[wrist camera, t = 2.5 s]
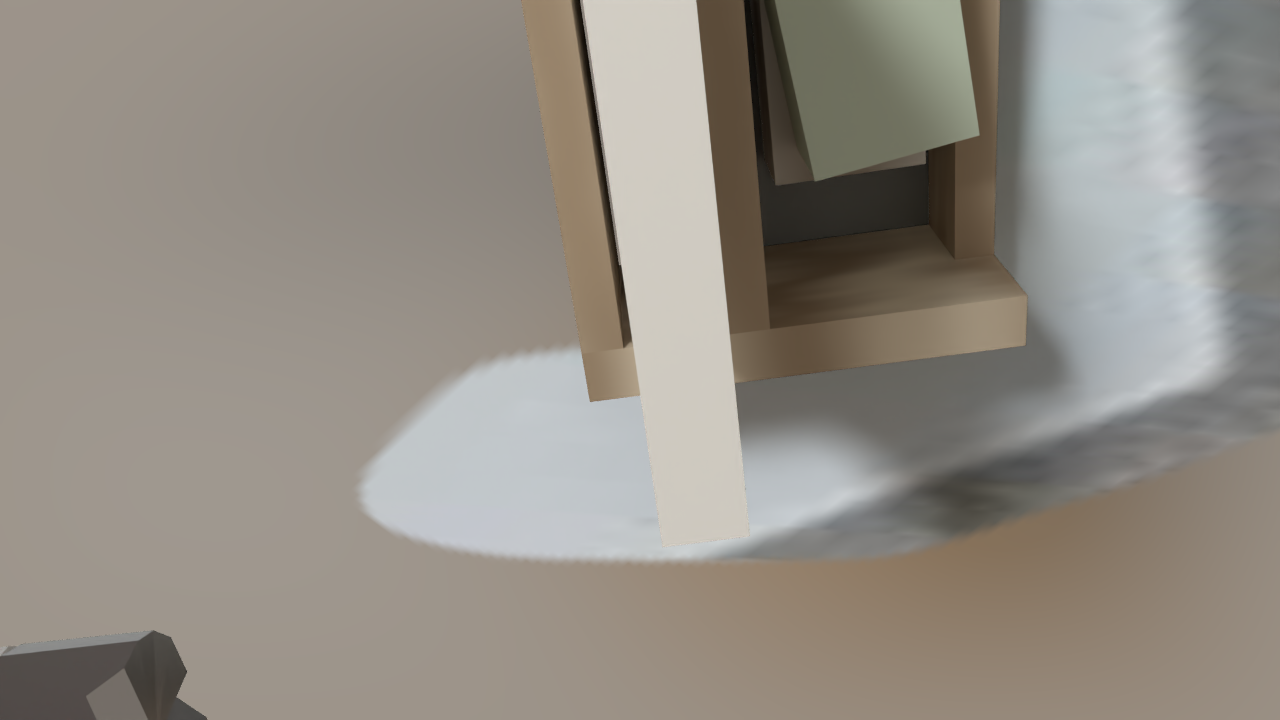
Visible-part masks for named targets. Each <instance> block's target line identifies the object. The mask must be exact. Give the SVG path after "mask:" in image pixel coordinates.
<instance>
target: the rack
mask: <svg viewBox="0 0 1280 720" xmlns="http://www.w3.org/2000/svg"><path fill="white" fill-rule="evenodd" d="M521 2H522V8H523V14H524V19H525V25H526V31H527V37H528V42H529V49H530V55H531V60H532V66H533V71H534V78H535V84H536V89H537V95H538V101H539V107H540V113H541V119H542V125H543V130H544V136H545V142H546V148H547V154H548V160H549V166H550V171H551V176H552V183H553V188H554V194H555V200H556V205H557V212H558V218H559V223H560V230H561V236H562V241H563V247H564V253H565V259H566V265H567V271H568V276H569V282H570V288H571V294H572V300H573V305H574V311H575V317H576V323H577V329H578V335H579V341H580V346H581V352H582V358H583V364H584V370H585V376H586V382H587V387H588V393H589V399H590V402H593V401H601V400H609V399H616V398H624V397H632V396H640V389H639V382H638V376H637V369H636V362H635V355H634V348H633V341H632V335H631V328H630V321H629V314H628V307H627V300H626V294H625V287H624V280H623V273H622V266H621V265H619V262H618V255H617V249H616V242H615V235H614V229H613V222H612V215H611V208H610V202H609V195H608V188H607V181H606V175H605V168H604V161H603V155H602V147H601V141H600V133H599V127H598V120H597V113H596V106H595V100H594V93H593V86H592V79H591V72H590V66H589V59H588V52H587V45H586V39H585V32H584V25H583V18H582V12H581V5H580V0H521ZM696 3H697V13H698V23H699V33H700V43H701V53H702V63H703V73H704V83H705V93H706V103H707V113H708V123H709V133H710V143H711V153H712V163H713V173H714V183H715V193H716V203H717V213H718V223H719V233H720V243H721V253H722V263H723V273H724V283H725V293H726V303H727V313H728V323H729V333H730V343H731V353H732V363H733V373H734V383H740V382H748V381H756V380H763V379H771V378H779V377H786V376H794V375H802V374H810V373H817V372H825V371H833V370H841V369H848V368H856V367H864V366H871V365H879V364H887V363H895V362H902V361H910V360H918V359H926V358H933V357H941V356H949V355H956V354H964V353H972V352H980V351H987V350H995V349H1003V348H1011V347H1018V346H1026V324H1027V299H1028V295H1027V294H1026V293H1025V292H1024V291H1023V289H1022V288H1021V287H1020V286H1019V284H1018V283H1017V282H1016V281H1015V280H1014V278H1013V277H1012V276H1011V275H1010V274H1009V272H1008V271H1007V270H1006V269H1005V267H1004V266H1003V265H1002V264H1001V263H1000V261H999V260H998V259H997V258H996V257H995V255H994V232H995V189H996V146H997V103H998V60H999V17H1000V0H960V4H961V11H962V18H963V24H964V31H965V38H966V45H967V52H968V59H969V65H970V72H971V79H972V86H973V93H974V100H975V107H976V113H977V120H978V127H979V134H980V135H979V136H975V137H972V138H968V139H965V140H961V141H957V142H954V143H950V144H947V145H943V146H940V147H936V148H933V149H929V150H928V179H929V225H921V226H914V227H906V228H899V229H891V230H884V231H876V232H868V233H861V234H853V235H846V236H838V237H831V238H823V239H816V240H808V241H801V242H793V243H785V244H778V245H770V246H763V234H762V221H761V209H760V197H759V184H758V172H757V160H756V147H755V135H754V123H753V110H752V98H751V86H750V73H749V61H748V49H747V36H746V24H745V11H744V0H696Z"/></svg>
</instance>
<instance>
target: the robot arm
mask: <svg viewBox="0 0 1280 720" xmlns="http://www.w3.org/2000/svg"><path fill="white" fill-rule="evenodd" d="M186 673H187V670H186V668H185V666H184V664H183V662H182V660H181V658H180V656H179V653H178V651H177V649H176V647H175V645H174V643H173V641H172V639H171V637H169V636H166V635H164V634H161V633H158V632H156V631H143V632H134V633H125V634H115V635H105V636H95V637H85V638H76V639H66V640H58V641H47V642H38V643H28V644H21V645H19V646H8V647H7V646H6V647H0V720H207V718H206V717H205V716H204V715H202V714H201V713H199V712H198V711H196V710H195V709H193V708H191V707H190V706H189V705H187V704H186V703H184V702H183V701H181V700H180V699H178V698H177V697H176V696H177V694H178V692H179V689H180V687H181V685H182V682H183V680H184V678H185V676H186Z"/></svg>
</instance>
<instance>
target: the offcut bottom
mask: <svg viewBox="0 0 1280 720" xmlns="http://www.w3.org/2000/svg"><path fill="white" fill-rule="evenodd" d="M750 8H751V19H752V30H753V41H754V51H755V62H756V73H757V84H758V95H759V106H760V117H761V128H762V138H763V149H764V160H765V162H766V164H767V167H768V169H769V171H770V174H771V176H772V178H773V181H774V183H775V185H776V186H778V185H785V184H792V183H798V182H805V181H812V180H814V179H813V177H812V175H811V173H810V171H809V169H808V167H807V166H806V164H805V162H804V160H803V158H802V156H801V154H800V152H799V151H798V149H797V145H796V140H795V136H794V132H793V127H792V123H791V118H790V114H789V110H788V105H787V101H786V96H785V92H784V88H783V83H782V79H781V74H780V70H779V66H778V61H777V57H776V52H775V48H774V44H773V39H772V35H771V30H770V26H769V22H768V17H767V13H766V8H765V4H764V0H750ZM921 164H926V151H922V152H919V153H915V154H911V155H908V156H904V157H901V158H897V159H894V160H890V161H887V162H883V163H880V164H876V165H873V166H869V167H866V168H862V169H858V170H855V171H851V172H848V173H844V174H841V175H837V176H834V177H839V176H846V175H853V174H860V173H867V172H874V171H880V170H887V169H894V168H901V167H908V166H915V165H921ZM830 178H833V177H830Z"/></svg>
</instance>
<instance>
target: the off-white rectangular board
mask: <svg viewBox="0 0 1280 720" xmlns="http://www.w3.org/2000/svg"><path fill="white" fill-rule="evenodd" d="M583 7H584V14H585V20H586V27H587V33H588V40H589V48H590V54H591V61H592V68H593V75H594V81H595V89H596V95H597V102H598V109H599V116H600V123H601V130H602V136H603V143H604V150H605V157H606V164H607V170H608V177H609V183H610V191H611V198H612V205H613V212H614V218H615V225H616V232H617V239H618V246H619V253H620V259H621V266H622V273H623V280H624V287H625V294H626V300H627V307H628V314H629V321H630V328H631V335H632V341H633V348H634V355H635V362H636V369H637V376H638V382H639V389H640V396H641V403H642V410H643V417H644V423H645V430H646V437H647V444H648V451H649V458H650V464H651V471H652V478H653V485H654V492H655V499H656V505H657V512H658V519H659V526H660V533H661V540H662V546H663V547H668V546H676V545H684V544H692V543H700V542H708V541H716V540H724V539H732V538H740V537H748V536H750V532H749V522H748V512H747V502H746V492H745V482H744V472H743V462H742V452H741V443H740V433H739V423H738V413H737V403H736V393H735V383H734V373H733V363H732V353H731V343H730V333H729V323H728V313H727V303H726V293H725V283H724V273H723V263H722V253H721V243H720V233H719V223H718V213H717V203H716V193H715V183H714V173H713V163H712V153H711V143H710V133H709V123H708V113H707V103H706V93H705V83H704V73H703V63H702V53H701V43H700V33H699V23H698V13H697V3H696V0H583Z"/></svg>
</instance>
